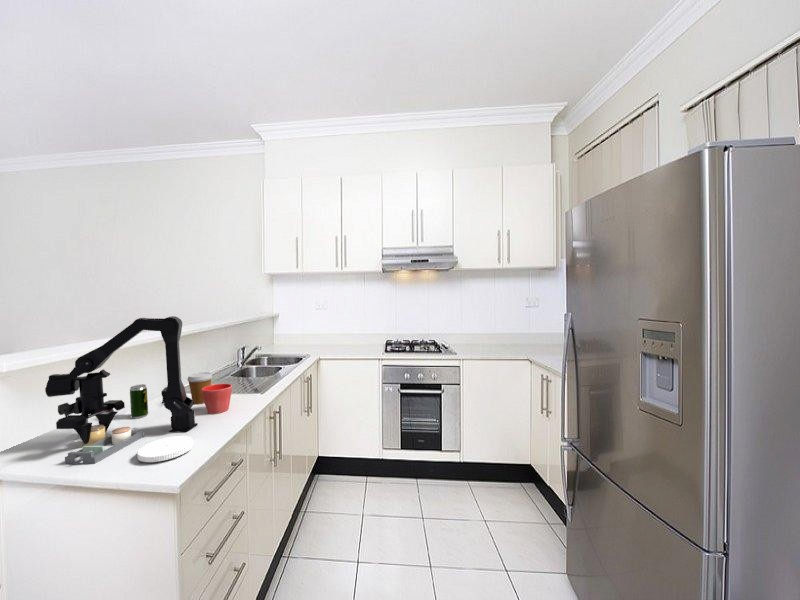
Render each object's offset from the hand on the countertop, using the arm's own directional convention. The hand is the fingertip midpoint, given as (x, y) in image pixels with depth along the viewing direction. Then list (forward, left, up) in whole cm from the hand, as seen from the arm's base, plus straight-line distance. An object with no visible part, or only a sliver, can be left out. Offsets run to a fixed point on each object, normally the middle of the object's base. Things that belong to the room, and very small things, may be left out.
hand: (94, 439), depth 115 cm
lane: (-9, +4, -1) cm, 10 cm away
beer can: (+3, -23, -1) cm, 23 cm away
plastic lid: (-30, +7, -2) cm, 30 cm away
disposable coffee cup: (-11, -40, -1) cm, 41 cm away
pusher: (-9, +12, -1) cm, 15 cm away
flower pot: (-25, -29, -1) cm, 38 cm away
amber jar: (0, 0, -1) cm, 1 cm away
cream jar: (-9, -1, -1) cm, 9 cm away
